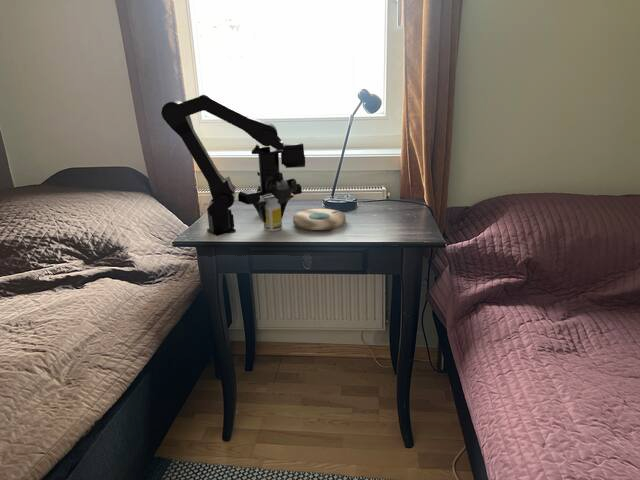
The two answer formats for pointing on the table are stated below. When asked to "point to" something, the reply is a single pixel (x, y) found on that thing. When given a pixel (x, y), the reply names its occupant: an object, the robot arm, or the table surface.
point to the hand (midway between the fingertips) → (272, 220)
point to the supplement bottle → (272, 214)
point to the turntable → (319, 219)
